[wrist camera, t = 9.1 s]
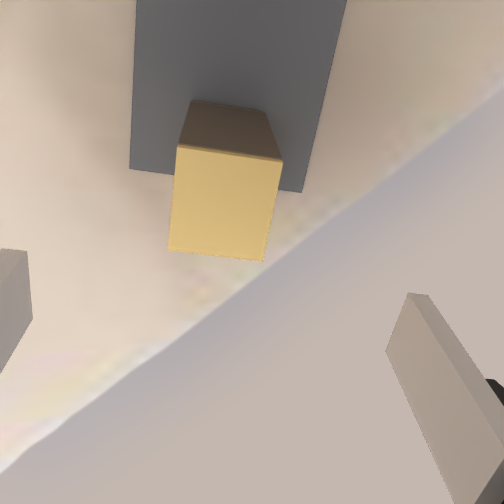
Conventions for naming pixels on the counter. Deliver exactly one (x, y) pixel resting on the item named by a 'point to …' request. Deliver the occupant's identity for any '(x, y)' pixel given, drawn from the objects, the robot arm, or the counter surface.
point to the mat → (232, 72)
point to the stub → (224, 182)
